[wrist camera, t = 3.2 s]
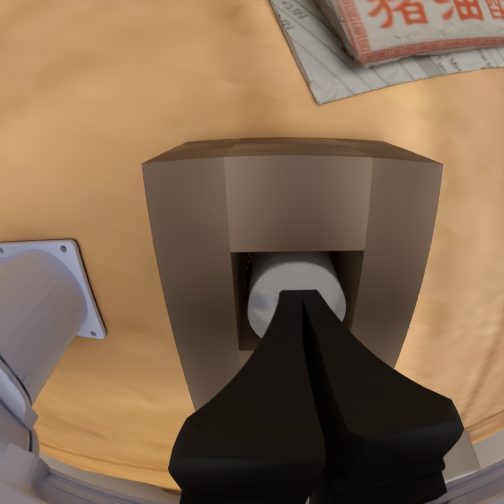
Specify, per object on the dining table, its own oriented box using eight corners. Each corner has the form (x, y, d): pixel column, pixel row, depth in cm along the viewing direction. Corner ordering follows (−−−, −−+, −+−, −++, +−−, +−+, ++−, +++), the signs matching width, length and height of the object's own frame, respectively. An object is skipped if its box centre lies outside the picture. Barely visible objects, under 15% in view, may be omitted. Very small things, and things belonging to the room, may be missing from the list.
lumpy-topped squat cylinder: (391, 447, 28) (404, 507, 20) (478, 418, 26) (499, 468, 19) (377, 475, 32) (386, 523, 25) (454, 451, 31) (467, 495, 23)
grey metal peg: (255, 274, 17) (249, 348, 12) (252, 212, 15) (245, 270, 10) (320, 273, 17) (339, 346, 12) (324, 212, 15) (351, 269, 10)
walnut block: (224, 413, 24) (216, 471, 19) (186, 142, 14) (141, 163, 9) (337, 411, 24) (346, 468, 18) (383, 141, 14) (442, 164, 9)
